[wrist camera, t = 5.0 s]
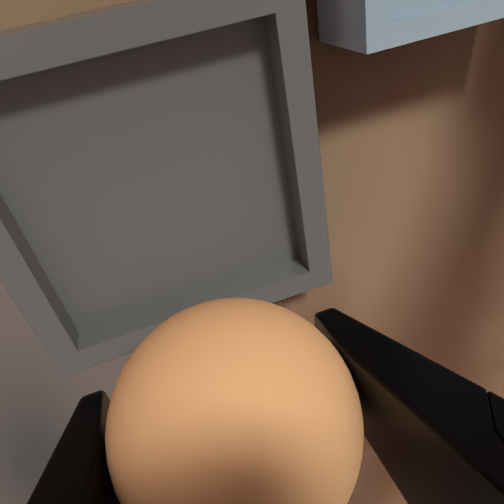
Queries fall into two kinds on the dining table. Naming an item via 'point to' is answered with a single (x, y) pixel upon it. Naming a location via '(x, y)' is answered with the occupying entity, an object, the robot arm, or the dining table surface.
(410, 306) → the dining table surface
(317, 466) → the ball
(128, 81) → the tray
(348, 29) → the light blue storage bin
